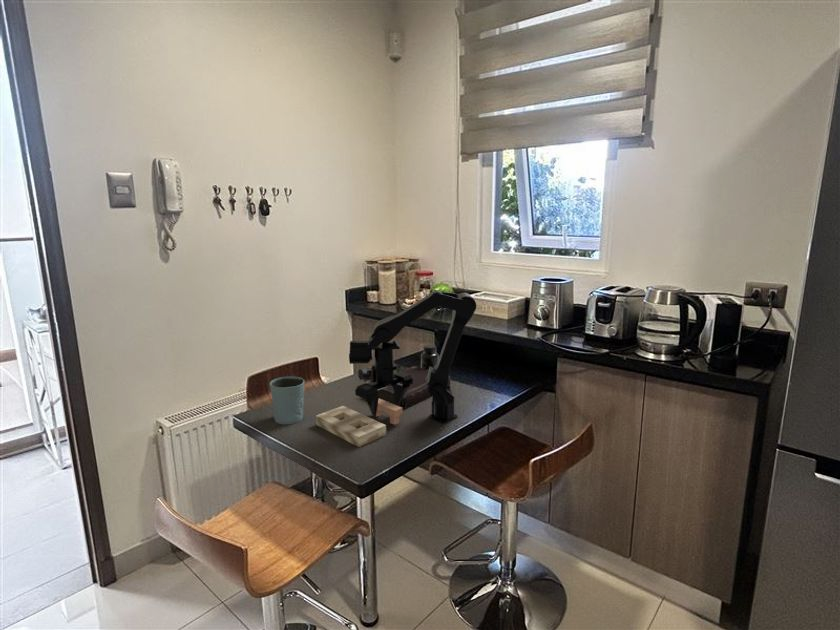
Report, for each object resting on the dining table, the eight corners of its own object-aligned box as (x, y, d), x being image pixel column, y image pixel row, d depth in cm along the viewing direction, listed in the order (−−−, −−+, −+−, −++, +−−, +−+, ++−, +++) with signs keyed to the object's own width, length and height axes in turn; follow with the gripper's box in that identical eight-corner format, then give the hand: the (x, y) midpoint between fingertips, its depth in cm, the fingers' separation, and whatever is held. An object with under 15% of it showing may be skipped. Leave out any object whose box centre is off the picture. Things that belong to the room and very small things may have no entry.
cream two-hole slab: (386, 434, 141) (385, 425, 140) (358, 447, 134) (358, 436, 133) (343, 414, 154) (343, 405, 154) (316, 424, 147) (316, 415, 147)
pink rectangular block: (402, 423, 148) (402, 407, 147) (395, 426, 146) (395, 410, 145) (376, 411, 156) (376, 397, 155) (369, 414, 154) (368, 399, 153)
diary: (451, 389, 177) (451, 375, 176) (405, 411, 158) (405, 397, 157) (411, 377, 189) (411, 364, 187) (364, 396, 170) (364, 383, 169)
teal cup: (266, 418, 152) (263, 382, 149) (294, 408, 159) (292, 373, 156) (284, 428, 145) (281, 390, 142) (313, 417, 152) (311, 381, 150)
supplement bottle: (441, 378, 185) (441, 347, 183) (424, 380, 183) (423, 349, 181) (435, 372, 192) (435, 343, 189) (418, 374, 190) (418, 344, 187)
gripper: (389, 350, 159) (390, 395, 162) (342, 364, 146) (344, 413, 149) (413, 357, 151) (414, 405, 155) (366, 372, 138) (368, 424, 142)
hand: (385, 411), depth 150 cm, fingers open, 9 cm apart
